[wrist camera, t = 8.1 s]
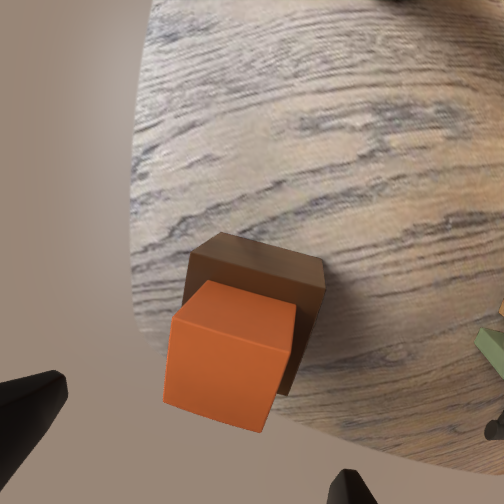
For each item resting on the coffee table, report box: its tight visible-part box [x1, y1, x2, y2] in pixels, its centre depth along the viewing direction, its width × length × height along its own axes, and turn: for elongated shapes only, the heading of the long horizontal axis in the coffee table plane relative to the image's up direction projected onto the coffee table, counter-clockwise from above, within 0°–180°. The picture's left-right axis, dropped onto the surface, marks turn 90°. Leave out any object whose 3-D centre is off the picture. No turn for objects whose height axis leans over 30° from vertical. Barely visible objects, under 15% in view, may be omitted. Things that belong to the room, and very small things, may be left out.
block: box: [163, 280, 296, 433], centre depth 12 cm, size 4×4×4 cm
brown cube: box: [181, 232, 326, 396], centre depth 17 cm, size 6×6×5 cm
